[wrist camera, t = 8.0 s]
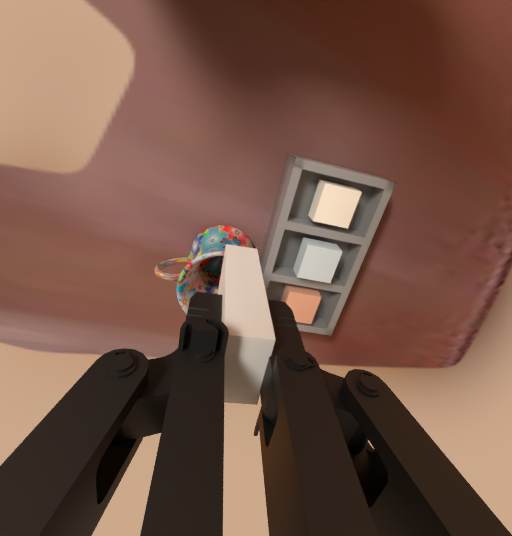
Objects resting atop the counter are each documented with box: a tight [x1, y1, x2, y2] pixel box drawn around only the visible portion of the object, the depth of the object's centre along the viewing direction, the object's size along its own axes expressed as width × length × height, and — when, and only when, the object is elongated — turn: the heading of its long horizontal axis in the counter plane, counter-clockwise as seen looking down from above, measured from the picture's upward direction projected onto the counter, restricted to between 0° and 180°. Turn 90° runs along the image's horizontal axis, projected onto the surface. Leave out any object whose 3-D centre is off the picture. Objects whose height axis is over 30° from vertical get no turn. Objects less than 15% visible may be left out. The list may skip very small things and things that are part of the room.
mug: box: [155, 225, 265, 314], centre depth 37 cm, size 12×9×11 cm
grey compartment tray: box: [260, 153, 396, 335], centre depth 40 cm, size 22×12×4 cm, turn 166°
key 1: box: [281, 283, 321, 324], centre depth 42 cm, size 4×4×2 cm
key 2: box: [308, 179, 362, 229], centre depth 36 cm, size 4×4×2 cm
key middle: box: [293, 237, 343, 283], centre depth 38 cm, size 4×4×2 cm
